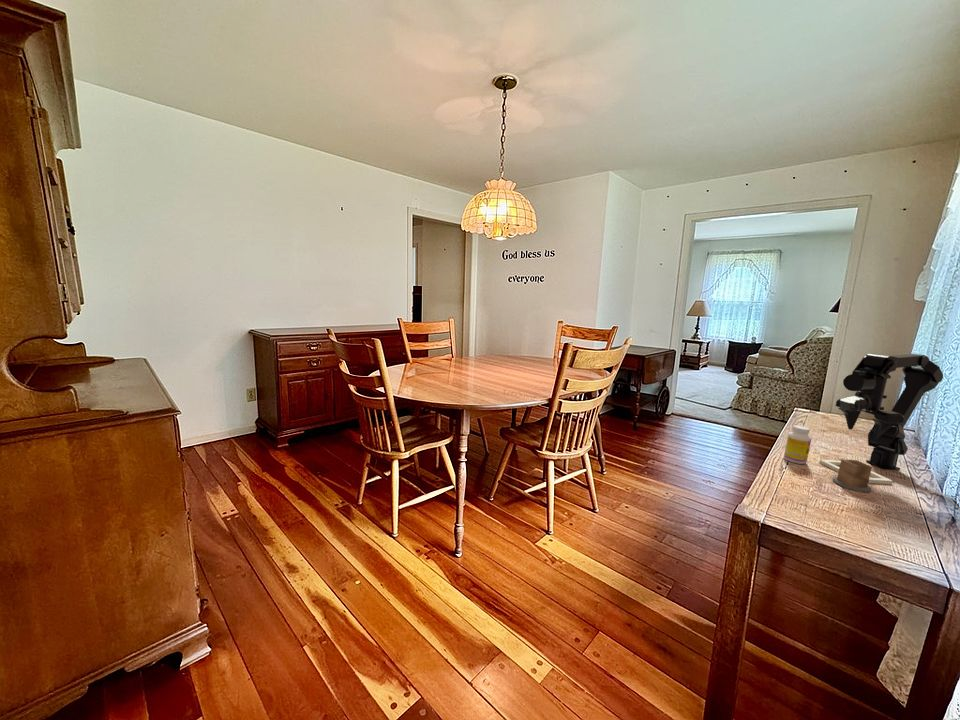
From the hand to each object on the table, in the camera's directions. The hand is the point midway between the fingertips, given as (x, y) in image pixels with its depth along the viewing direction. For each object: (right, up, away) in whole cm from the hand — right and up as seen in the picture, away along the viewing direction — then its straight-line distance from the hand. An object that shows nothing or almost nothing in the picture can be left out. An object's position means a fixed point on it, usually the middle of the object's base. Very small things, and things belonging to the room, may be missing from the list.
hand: (862, 433), depth 135 cm
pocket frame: (-5, -13, -2) cm, 14 cm away
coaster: (-15, -14, -11) cm, 24 cm away
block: (-15, -14, -12) cm, 23 cm away
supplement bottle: (-19, -11, +6) cm, 23 cm away
